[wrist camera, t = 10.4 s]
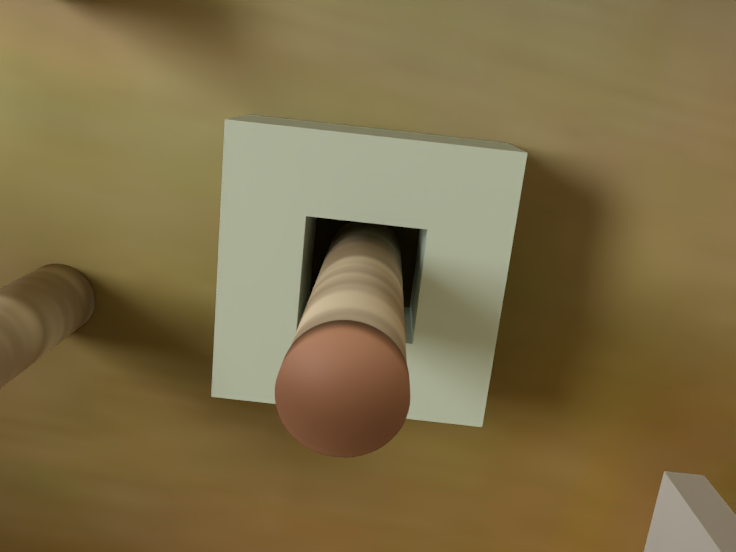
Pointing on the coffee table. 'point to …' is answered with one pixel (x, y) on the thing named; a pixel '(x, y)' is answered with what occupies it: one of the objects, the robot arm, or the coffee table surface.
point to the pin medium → (40, 315)
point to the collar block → (369, 205)
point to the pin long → (349, 349)
